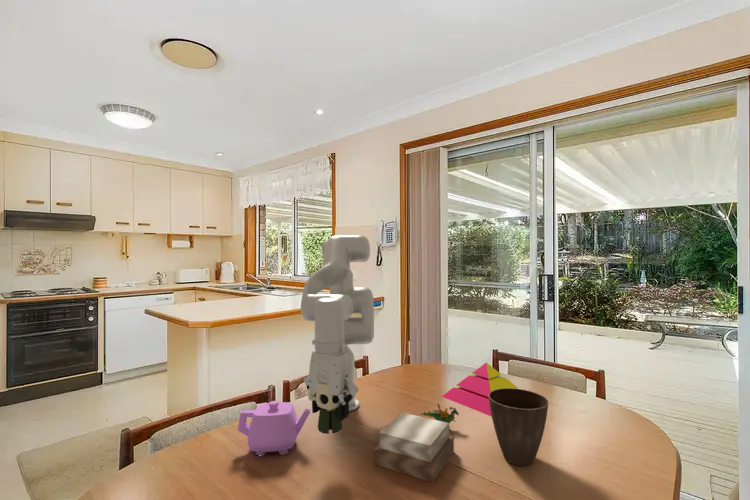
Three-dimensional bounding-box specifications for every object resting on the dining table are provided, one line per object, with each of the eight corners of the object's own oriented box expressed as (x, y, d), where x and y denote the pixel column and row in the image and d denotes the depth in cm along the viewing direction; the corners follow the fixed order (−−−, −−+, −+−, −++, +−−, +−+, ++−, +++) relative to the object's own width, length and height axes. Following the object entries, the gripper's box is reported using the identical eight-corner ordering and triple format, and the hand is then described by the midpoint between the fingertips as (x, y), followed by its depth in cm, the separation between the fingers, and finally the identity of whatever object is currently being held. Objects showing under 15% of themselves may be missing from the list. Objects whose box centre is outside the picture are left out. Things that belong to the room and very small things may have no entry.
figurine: (460, 430, 116) (460, 404, 116) (421, 431, 115) (421, 404, 115) (457, 426, 119) (457, 400, 119) (419, 427, 118) (419, 401, 119)
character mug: (308, 438, 92) (307, 386, 92) (309, 425, 100) (308, 376, 99) (352, 435, 94) (352, 383, 94) (350, 421, 101) (349, 373, 101)
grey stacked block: (374, 464, 98) (374, 433, 98) (401, 437, 111) (401, 410, 112) (432, 482, 90) (432, 448, 90) (453, 451, 104) (453, 422, 104)
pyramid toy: (536, 402, 139) (535, 363, 139) (495, 421, 124) (494, 377, 124) (480, 384, 159) (479, 350, 159) (439, 398, 144) (438, 360, 144)
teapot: (232, 461, 99) (232, 413, 99) (243, 438, 112) (243, 395, 112) (309, 456, 102) (309, 409, 102) (312, 434, 114) (311, 392, 114)
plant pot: (482, 443, 108) (482, 387, 108) (535, 444, 107) (534, 387, 107) (498, 474, 93) (497, 409, 93) (559, 475, 92) (558, 409, 93)
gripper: (293, 345, 97) (294, 413, 98) (350, 355, 89) (350, 429, 89) (312, 339, 104) (312, 402, 104) (366, 347, 95) (366, 416, 96)
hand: (330, 414), depth 97 cm, fingers closed on character mug, 7 cm apart
